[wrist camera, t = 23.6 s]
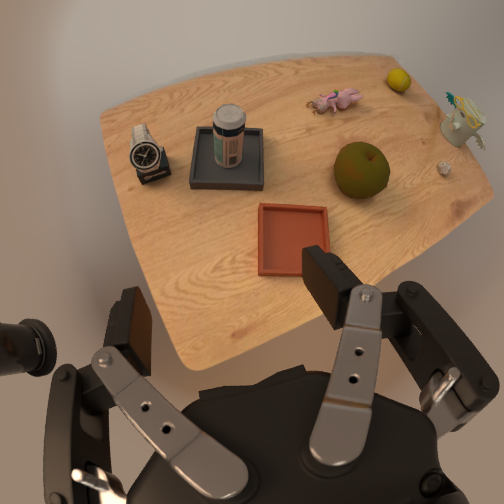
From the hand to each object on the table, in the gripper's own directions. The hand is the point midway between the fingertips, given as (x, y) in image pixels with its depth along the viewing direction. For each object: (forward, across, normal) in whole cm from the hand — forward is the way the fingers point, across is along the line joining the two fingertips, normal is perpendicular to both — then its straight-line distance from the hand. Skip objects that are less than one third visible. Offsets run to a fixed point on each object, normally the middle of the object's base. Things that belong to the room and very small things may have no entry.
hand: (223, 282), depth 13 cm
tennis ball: (+52, -58, -12) cm, 79 cm away
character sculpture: (+40, -70, 0) cm, 81 cm away
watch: (+39, +7, +2) cm, 40 cm away
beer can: (+37, -6, +2) cm, 38 cm away
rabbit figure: (+46, -33, -5) cm, 57 cm away
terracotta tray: (+26, -13, +15) cm, 32 cm away
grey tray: (+38, -6, +3) cm, 38 cm away
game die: (+32, -57, +9) cm, 66 cm away
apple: (+32, -28, +9) cm, 43 cm away
